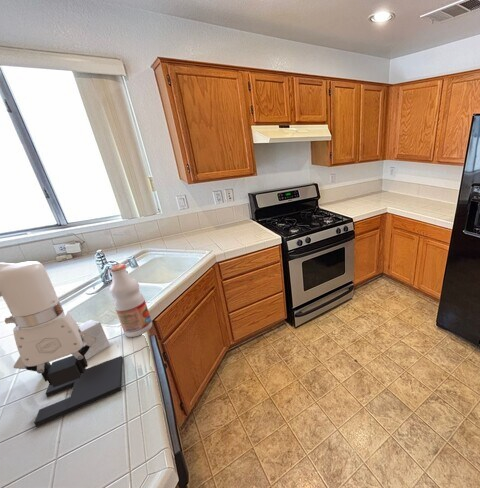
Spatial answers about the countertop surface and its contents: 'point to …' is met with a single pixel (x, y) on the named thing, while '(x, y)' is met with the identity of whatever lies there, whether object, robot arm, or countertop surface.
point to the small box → (96, 331)
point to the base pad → (84, 390)
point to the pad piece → (63, 371)
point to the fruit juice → (129, 302)
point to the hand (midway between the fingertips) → (68, 374)
